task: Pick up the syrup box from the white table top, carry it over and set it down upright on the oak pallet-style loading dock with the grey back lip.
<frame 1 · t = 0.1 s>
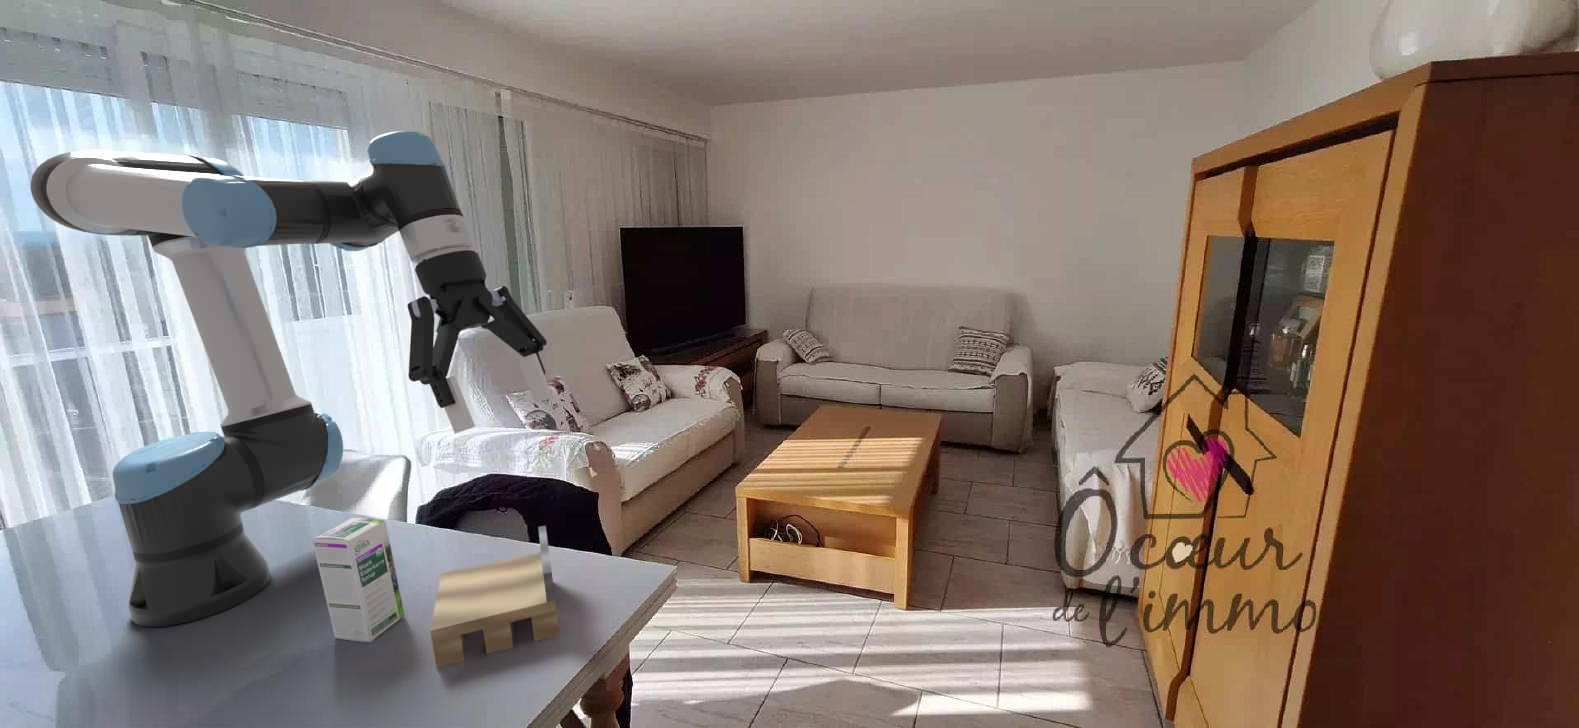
hand: (507, 414, 82), 28 cm above the table, tool tilted 20°, fingers open, 13 cm apart
syrup box: (370, 629, 85), on the table
dock: (500, 619, 85), on the table
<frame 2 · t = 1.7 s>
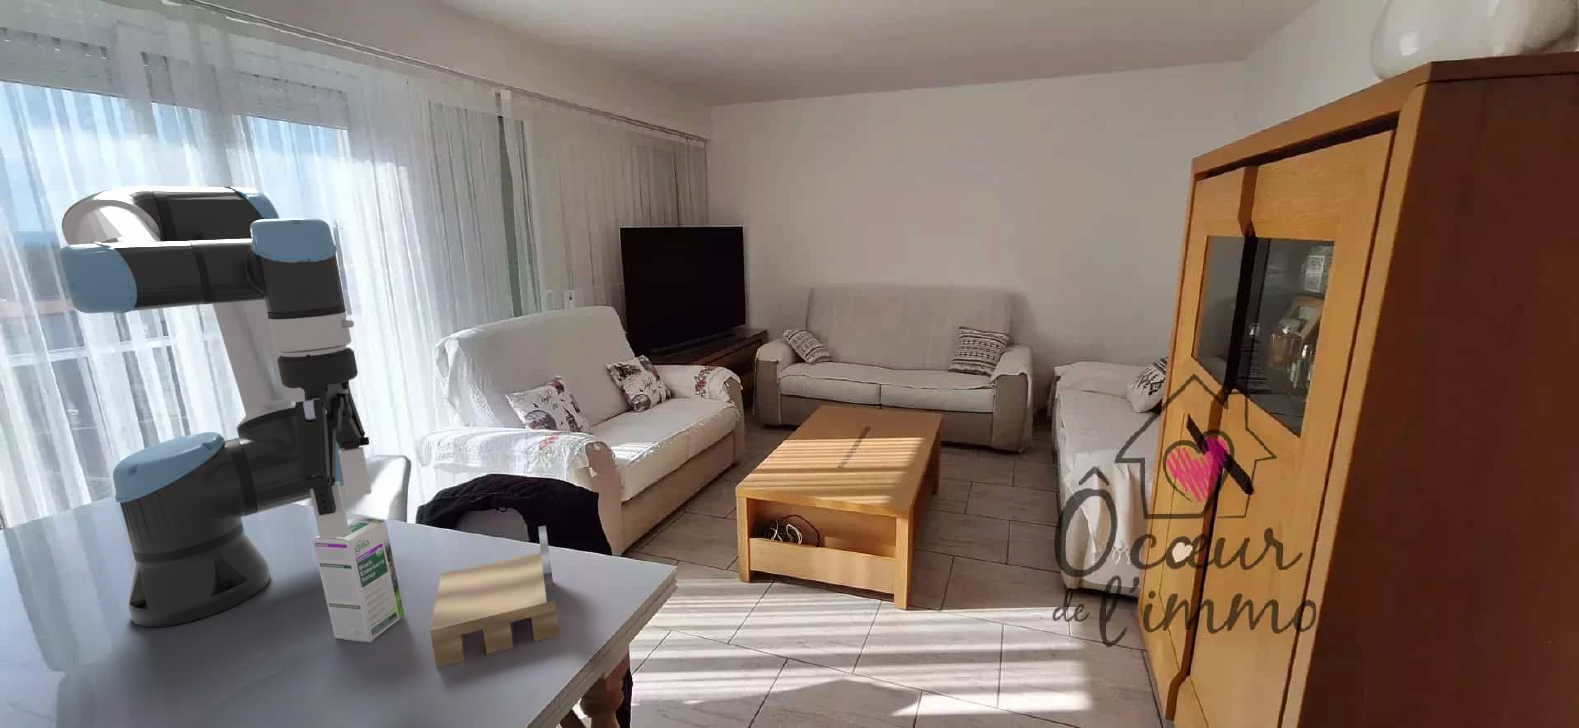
hand: (348, 514, 81), 16 cm above the table, tool pointing down, fingers open, 13 cm apart
nothing on the table moved.
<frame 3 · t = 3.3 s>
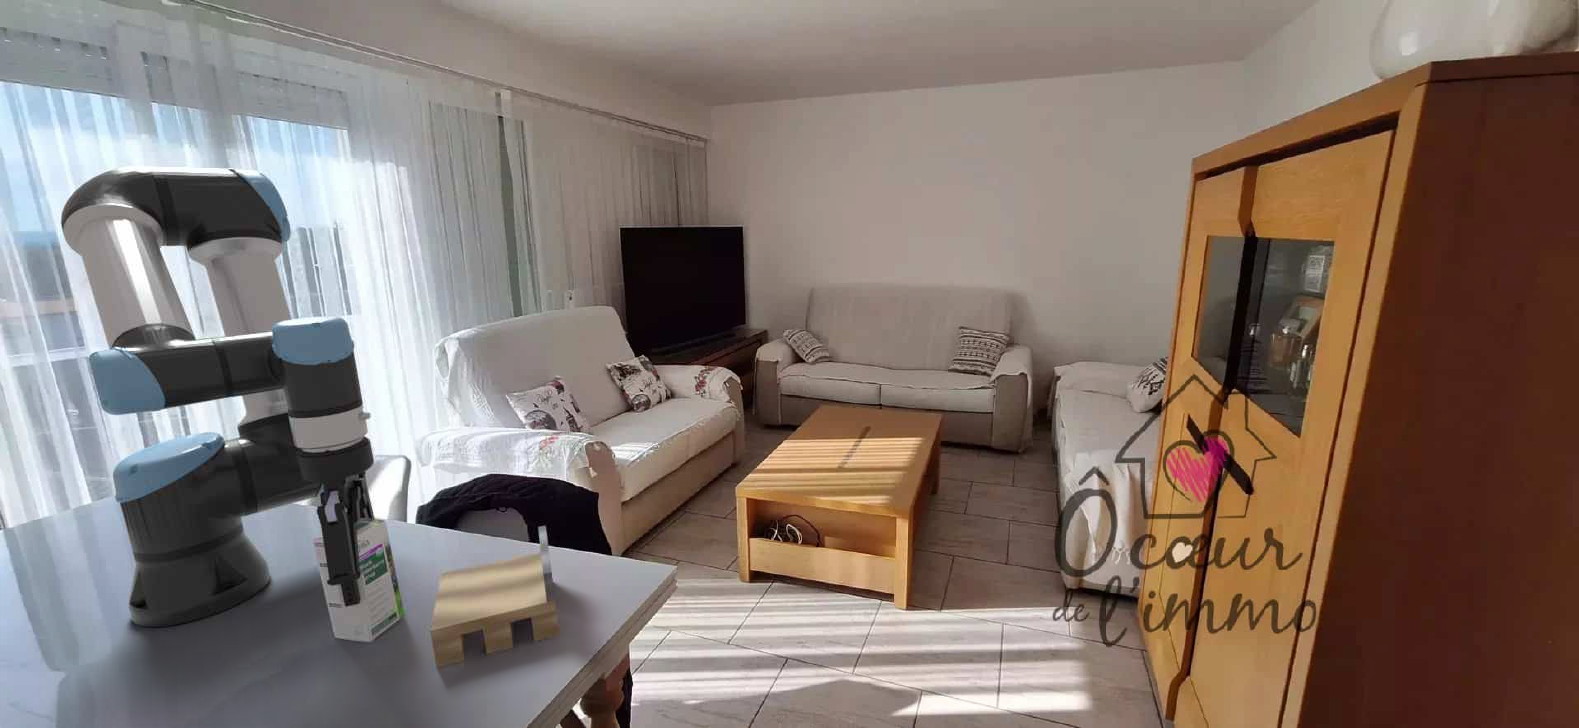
hand: (365, 606, 84), 3 cm above the table, tool pointing down, fingers closed on syrup box, 7 cm apart
syrup box: (370, 629, 85), on the table, touching gripper
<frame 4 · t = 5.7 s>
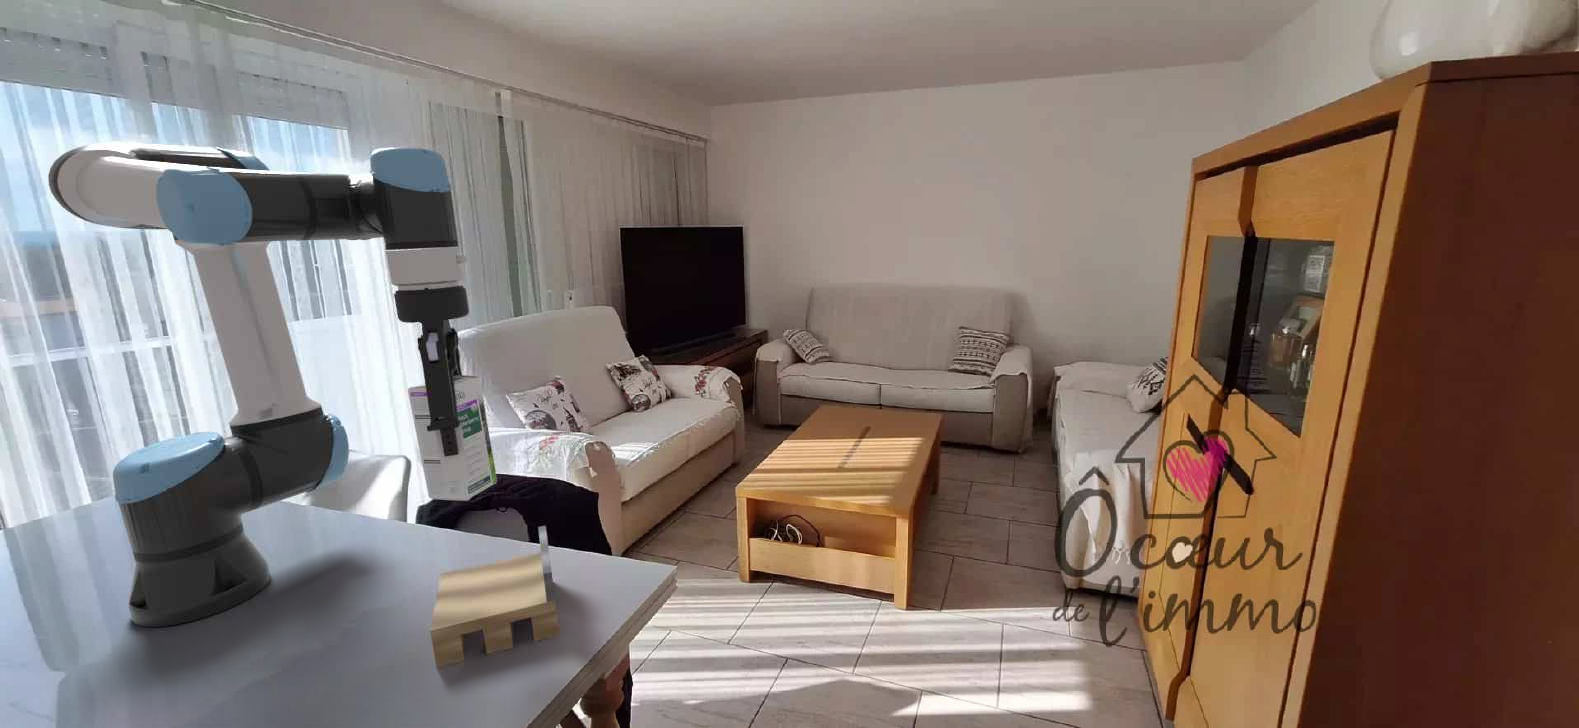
hand: (459, 467, 80), 22 cm above the table, tool pointing down, fingers closed on syrup box, 8 cm apart
syrup box: (463, 492, 81), point 19 cm above the table, touching gripper
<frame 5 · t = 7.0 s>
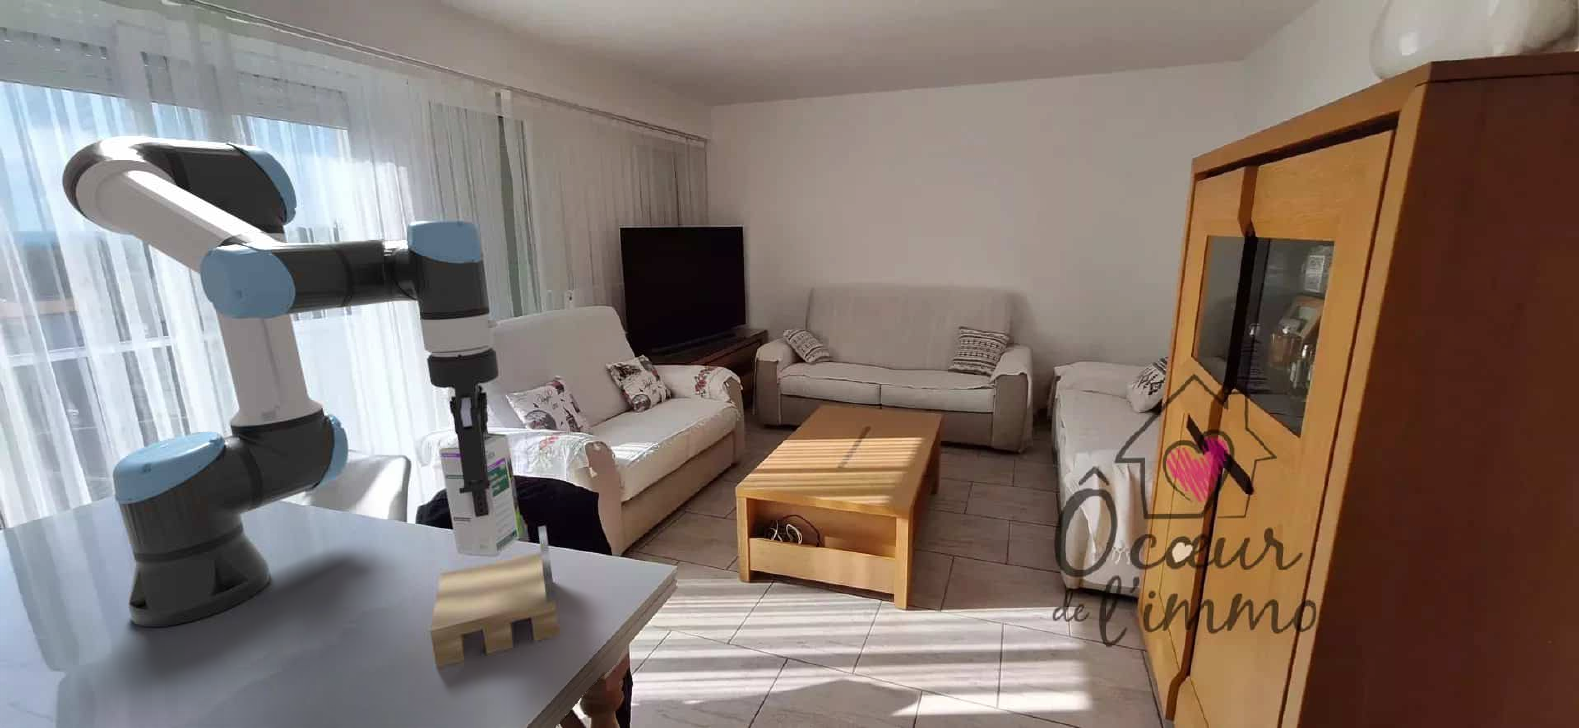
hand: (487, 523, 82), 14 cm above the table, tool pointing down, fingers closed on syrup box, 8 cm apart
syrup box: (490, 546, 83), point 11 cm above the table, touching gripper
when the fingers open (10 cm above the table, at t = 8.1 s): syrup box drops 1 cm, resting on dock.
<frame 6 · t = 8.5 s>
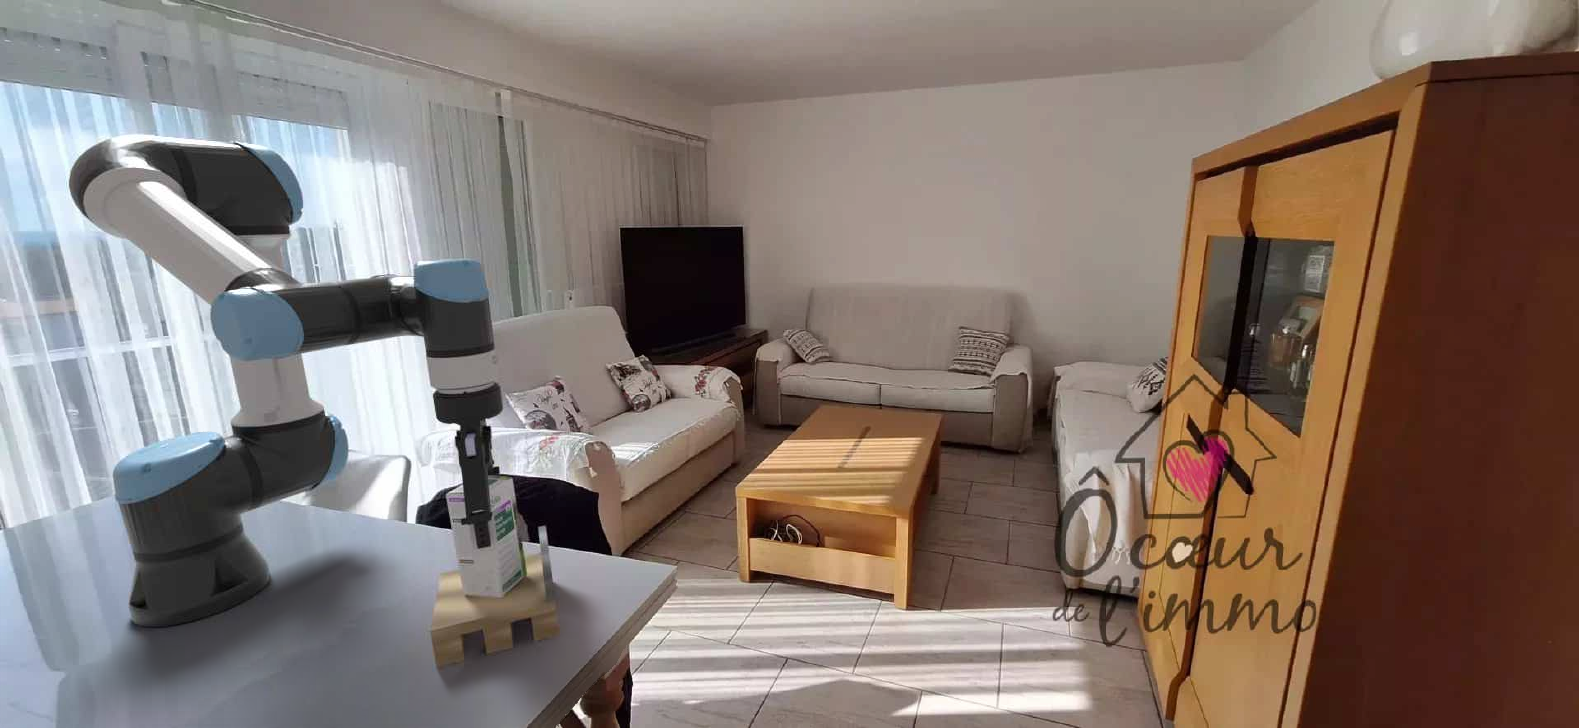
hand: (489, 544, 83), 11 cm above the table, tool pointing down, fingers open, 13 cm apart
syrup box: (495, 586, 84), point 5 cm above the table, touching dock
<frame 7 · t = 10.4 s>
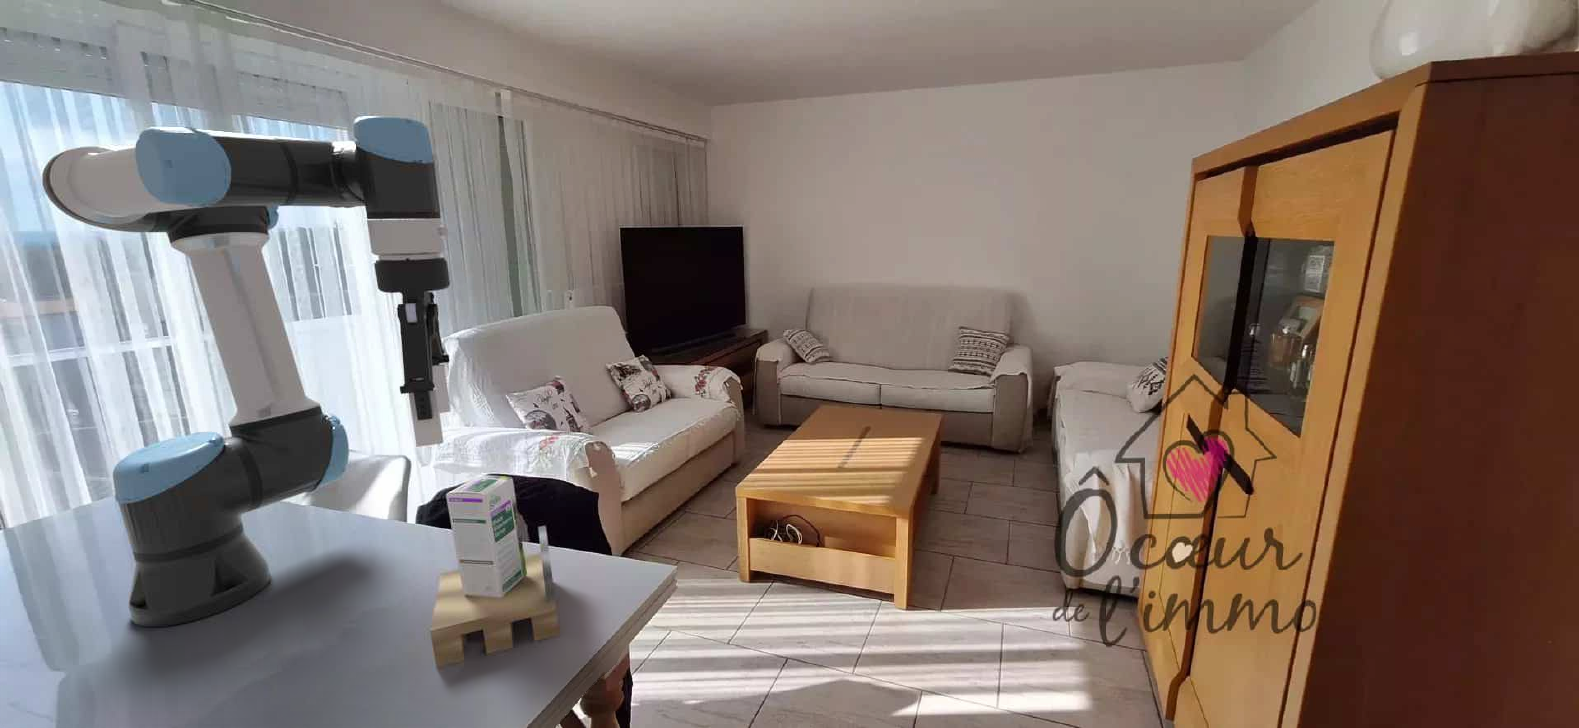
hand: (435, 427, 80), 27 cm above the table, tool pointing down, fingers open, 13 cm apart
nothing on the table moved.
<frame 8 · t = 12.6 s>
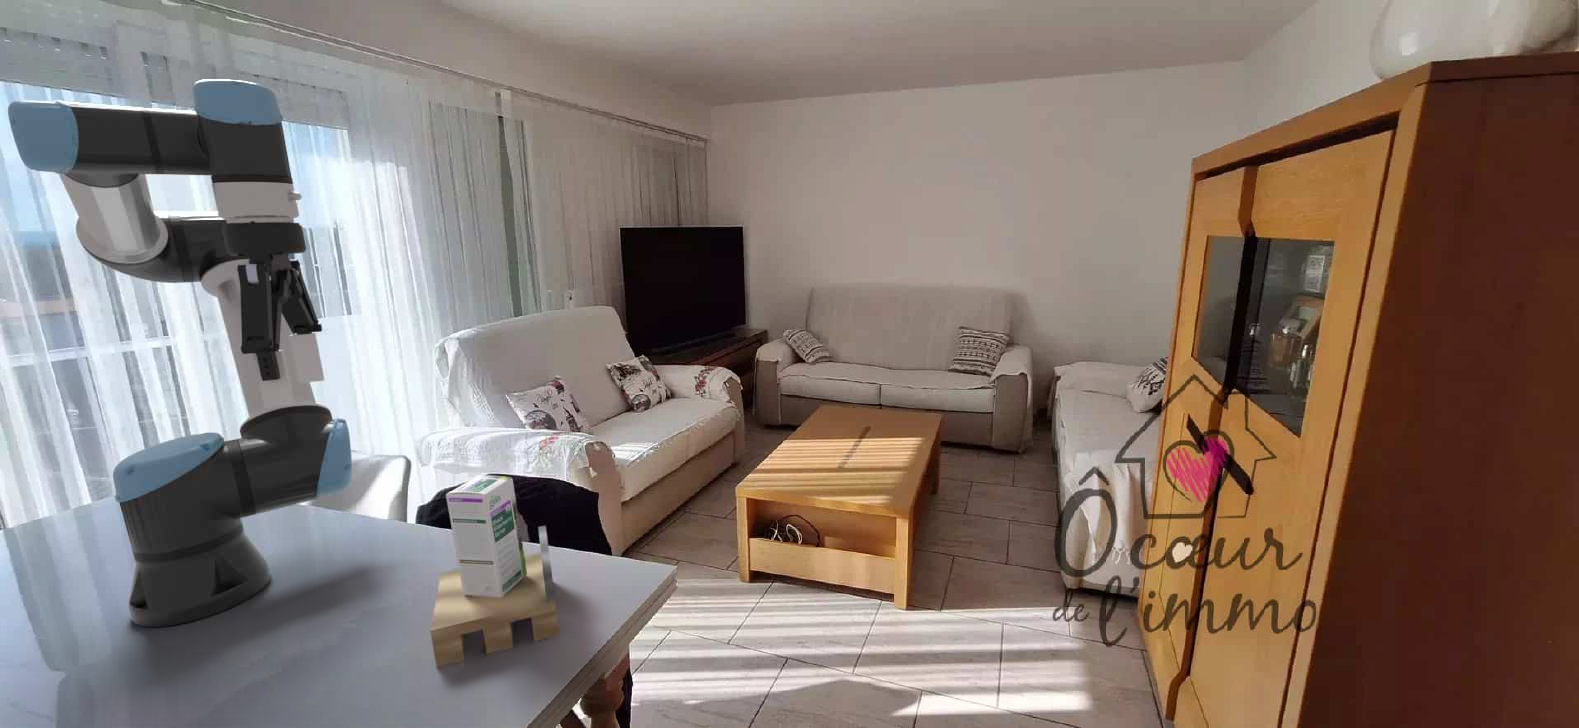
hand: (297, 393, 81), 32 cm above the table, tool pointing down, fingers open, 13 cm apart
nothing on the table moved.
at the end: syrup box inside the target area on the dock (0.2 cm from its centre), point 4.8 cm above the dock's base; syrup box tilted 0°; the gripper is holding nothing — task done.
